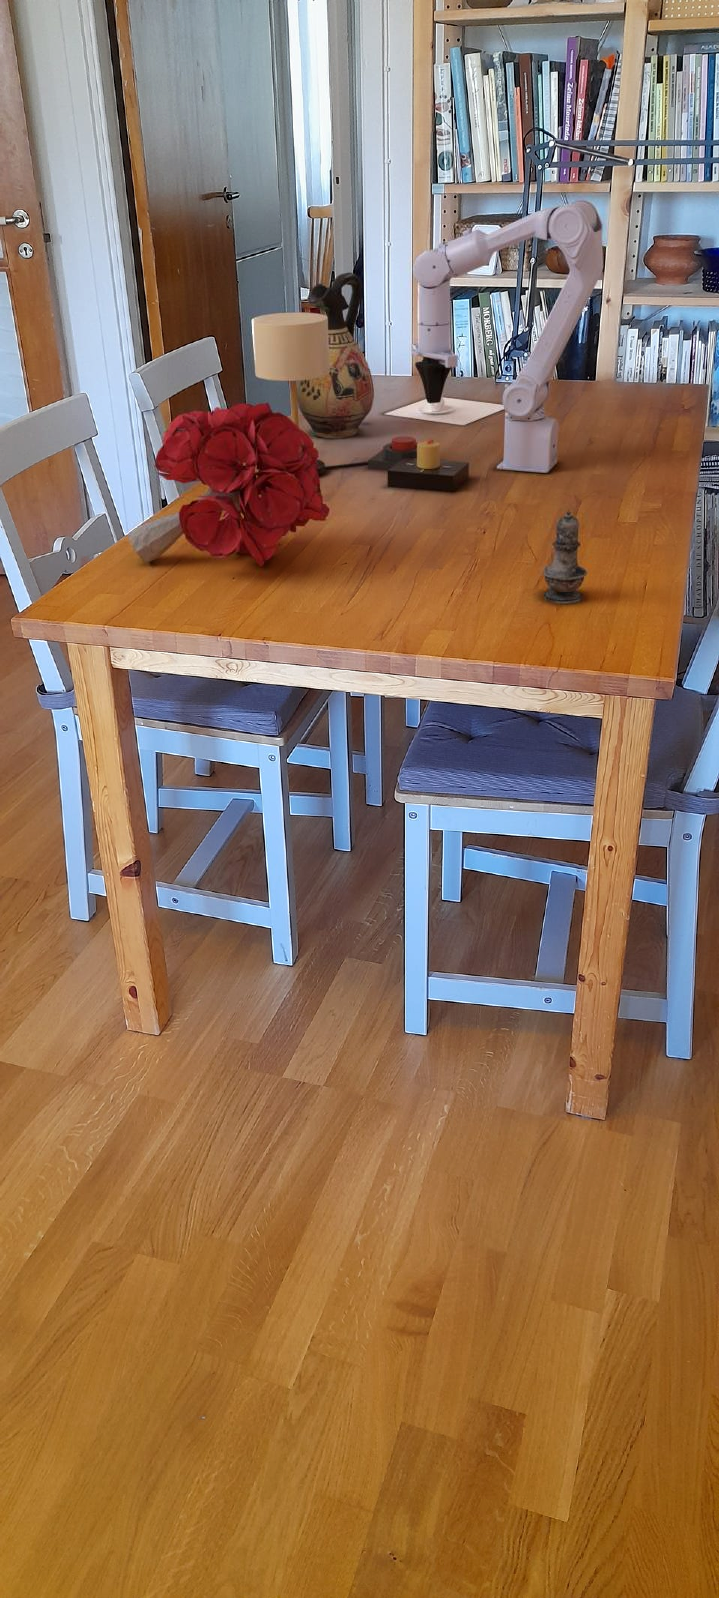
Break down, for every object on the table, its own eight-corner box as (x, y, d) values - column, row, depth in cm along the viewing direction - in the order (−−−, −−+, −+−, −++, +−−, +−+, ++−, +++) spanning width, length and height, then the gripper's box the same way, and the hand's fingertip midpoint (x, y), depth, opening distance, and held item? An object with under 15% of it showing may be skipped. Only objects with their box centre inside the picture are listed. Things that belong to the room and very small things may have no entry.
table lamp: (376, 463, 222) (373, 311, 209) (342, 487, 209) (337, 327, 196) (288, 456, 228) (280, 308, 215) (250, 479, 215) (238, 323, 202)
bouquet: (168, 634, 171) (347, 528, 163) (68, 491, 162) (252, 372, 155) (193, 590, 190) (354, 493, 182) (105, 460, 182) (270, 353, 174)
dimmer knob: (435, 469, 206) (436, 445, 204) (414, 467, 208) (413, 444, 206) (442, 463, 210) (443, 439, 208) (421, 462, 211) (421, 438, 209)
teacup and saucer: (431, 404, 263) (431, 385, 261) (462, 408, 259) (462, 389, 256) (409, 412, 257) (409, 393, 255) (440, 417, 252) (440, 397, 250)
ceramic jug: (332, 447, 233) (326, 281, 218) (283, 433, 244) (274, 274, 228) (396, 431, 243) (395, 271, 228) (346, 419, 253) (342, 265, 238)
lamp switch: (419, 446, 220) (419, 437, 219) (411, 452, 216) (411, 442, 215) (396, 444, 221) (396, 435, 220) (388, 450, 218) (388, 441, 217)
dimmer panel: (468, 479, 212) (469, 461, 210) (453, 493, 205) (453, 474, 203) (404, 473, 216) (404, 456, 214) (387, 487, 209) (387, 469, 207)
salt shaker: (536, 590, 164) (541, 503, 158) (579, 587, 164) (585, 501, 158) (546, 605, 159) (551, 517, 153) (589, 603, 159) (596, 514, 153)
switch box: (438, 462, 222) (439, 443, 220) (425, 473, 215) (425, 454, 214) (383, 458, 225) (383, 439, 224) (368, 469, 219) (367, 449, 217)
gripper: (395, 319, 216) (396, 397, 223) (432, 331, 205) (432, 412, 212) (430, 316, 219) (430, 392, 226) (468, 327, 207) (467, 407, 214)
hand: (433, 402), depth 219 cm, fingers closed
